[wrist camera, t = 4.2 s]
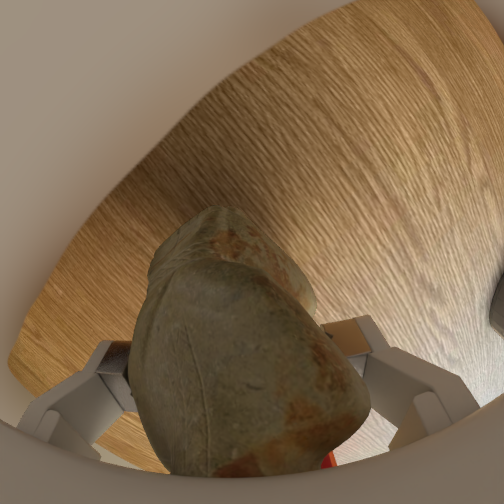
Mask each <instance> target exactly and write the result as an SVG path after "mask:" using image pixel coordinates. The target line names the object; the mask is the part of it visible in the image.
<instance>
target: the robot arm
mask: <svg viewBox="0 0 504 504" xmlns="http://www.w3.org/2000/svg"><path fill="white" fill-rule="evenodd" d="M320 329H321V330H322V331H323V332H324V333H325V334H326V335H327V336H328V337H329V338H330V339H331V340H332V341H333V342H334V343H335V344H336V345H337V346H338V348H339V349H340V350H341V351H342V353H343V354H344V355H345V357H346V358H347V359H348V360H349V362H350V363H351V364H352V365H353V367H354V368H355V369H356V371H357V372H358V374H359V375H360V376H361V378H362V379H363V381H364V382H365V384H366V386H367V388H368V391H369V393H370V401H371V408H372V409H374V410H375V411H376V412H378V413H379V414H380V415H381V416H383V417H384V418H385V419H387V420H388V421H389V422H391V423H392V424H393V425H394V426H396V427H397V428H398V430H397V432H396V434H395V436H394V437H393V439H392V441H391V443H390V444H389V446H388V447H389V450H390V451H388V452H385V453H382V454H379V455H376V456H373V457H370V458H366V459H363V460H359V461H355V462H352V463H348V464H343V465H339V466H335V467H330V468H325V469H320V470H314V471H308V472H302V473H295V474H287V475H278V476H267V477H250V478H206V477H190V476H179V475H170V474H162V473H155V472H149V471H143V470H137V469H132V468H127V467H123V466H118V465H114V464H110V463H106V462H102V461H100V459H101V456H100V454H99V453H98V452H97V451H96V450H95V449H94V448H93V447H92V446H91V445H92V444H93V443H94V442H95V441H96V440H97V439H98V438H99V437H100V436H101V435H102V434H103V433H104V432H105V431H106V430H107V429H108V428H109V427H110V426H111V425H112V424H113V423H114V422H115V421H116V420H117V419H118V418H119V417H120V416H121V415H122V414H123V413H124V411H129V412H138V410H137V407H136V404H135V401H134V398H133V395H132V391H131V388H130V384H129V378H128V360H129V355H130V349H131V344H132V341H110V340H104V341H101V342H100V343H99V345H98V346H97V348H96V349H95V351H94V353H93V354H92V356H91V357H90V359H89V361H88V362H87V364H86V366H85V367H84V369H83V370H82V371H78V372H76V373H75V374H73V375H72V376H70V377H69V378H67V379H66V380H64V381H63V382H61V383H60V384H58V385H56V386H55V387H53V388H52V389H50V390H49V391H47V392H46V393H44V394H43V395H41V396H40V397H38V398H36V399H35V400H34V401H32V402H31V403H30V405H29V406H28V408H27V410H26V411H25V413H24V415H23V416H22V418H21V420H20V422H19V424H18V426H17V427H16V428H15V427H13V426H11V425H9V424H8V423H6V422H4V421H2V420H0V504H504V393H503V394H501V395H500V396H498V397H497V398H495V399H494V400H492V401H491V402H489V403H488V404H486V405H485V406H483V407H482V408H480V406H479V405H478V403H477V402H476V400H475V399H474V397H473V395H472V394H471V392H470V391H469V389H468V388H467V386H466V385H465V384H464V382H463V381H462V379H461V378H460V376H458V375H455V374H453V373H451V372H449V371H447V370H444V369H442V368H440V367H438V366H436V365H433V364H431V363H429V362H427V361H425V360H423V359H420V358H418V357H416V356H414V355H412V354H410V353H408V352H405V351H403V350H401V349H399V348H397V347H392V348H391V347H390V346H389V344H388V343H387V341H386V339H385V338H384V336H383V335H382V333H381V332H380V330H379V328H378V327H377V325H376V324H375V322H374V321H373V319H372V318H371V316H370V315H364V316H360V317H355V318H353V319H348V320H343V321H337V322H332V323H326V324H321V325H320Z"/></svg>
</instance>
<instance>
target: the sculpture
mask: <svg viewBox="0 0 504 504" xmlns="http://www.w3.org/2000/svg"><path fill="white" fill-rule="evenodd" d="M147 276H148V280H149V285H148V289H147V297H146V299H145V301H144V303H143V305H142V308H141V310H140V313H139V315H138V318H137V322H136V326H135V329H134V334H133V339H132V344H131V349H130V355H129V360H128V378H129V384H130V388H131V391H132V395H133V398H134V401H135V404H136V407H137V410H138V413H139V416H140V419H141V422H142V425H143V428H144V430H145V432H146V435H147V437H148V439H149V442H150V444H151V446H152V448H153V450H154V452H155V454H156V455H157V457H158V459H159V460H160V461H161V463H162V464H163V465H164V467H165V468H166V469H167V470H168V471H169V472H171V473H170V475H179V476H190V477H206V478H250V477H267V476H278V475H287V474H295V473H302V472H308V471H314V470H320V469H321V464H322V461H323V459H324V458H325V457H326V456H327V454H328V453H330V452H331V451H333V450H334V449H335V448H337V447H338V446H339V445H341V444H342V443H343V442H345V441H346V440H347V439H349V438H350V437H351V436H352V435H353V434H354V433H355V432H356V431H357V430H358V429H359V428H360V427H361V425H362V424H363V423H364V421H365V420H366V419H367V417H368V415H369V412H370V410H371V401H370V393H369V391H368V388H367V386H366V384H365V382H364V381H363V379H362V378H361V376H360V375H359V374H358V372H357V371H356V369H355V368H354V367H353V365H352V364H351V363H350V362H349V360H348V359H347V358H346V357H345V355H344V354H343V353H342V351H341V350H340V349H339V348H338V346H337V345H336V344H335V343H334V342H333V341H332V340H331V339H330V338H329V337H328V336H327V335H326V334H325V333H324V332H323V331H322V330H321V329H320V327H319V326H318V325H317V324H316V322H315V321H314V320H313V318H312V317H313V316H314V314H315V312H316V308H317V302H316V296H315V293H314V291H313V288H312V286H311V284H310V283H309V281H308V279H307V277H306V276H305V274H304V273H303V272H302V270H301V269H300V268H299V266H298V265H297V264H296V263H295V262H294V261H293V260H292V259H291V258H290V257H289V256H288V255H287V254H286V253H285V252H284V251H283V250H282V249H281V248H280V247H279V246H277V245H276V244H275V243H274V242H273V241H272V240H271V239H270V238H269V237H267V236H266V235H265V234H264V233H263V232H262V231H261V230H259V228H258V227H257V226H256V225H255V224H254V223H253V222H252V221H251V220H250V219H248V218H247V217H246V216H245V214H244V213H243V212H241V211H240V210H239V209H238V208H236V207H234V206H228V207H226V208H225V207H222V206H220V205H213V206H210V207H208V208H206V209H205V210H203V211H202V212H200V213H199V214H197V215H196V216H195V217H193V218H192V219H190V220H189V221H188V222H186V223H185V224H184V225H182V226H181V227H180V228H179V229H178V230H177V231H175V232H174V233H173V234H172V235H171V236H170V237H169V238H168V239H167V240H166V241H165V242H163V243H162V244H161V245H160V246H159V248H158V249H157V250H156V251H155V254H154V258H153V260H152V261H151V263H150V268H149V271H148V275H147Z"/></svg>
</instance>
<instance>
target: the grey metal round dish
mask: <svg viewBox="0 0 504 504" xmlns="http://www.w3.org/2000/svg"><path fill="white" fill-rule="evenodd" d="M490 324H491V327H492V328H493V329H494V331H495V332H496V333H497V334H498V335H499V336H500V337H501V338H502V339H503V340H504V274H503V276H502V278H501V280H500V282H499V284H498V287H497V289H496V292H495V295H494V298H493V301H492V305H491V310H490Z"/></svg>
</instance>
